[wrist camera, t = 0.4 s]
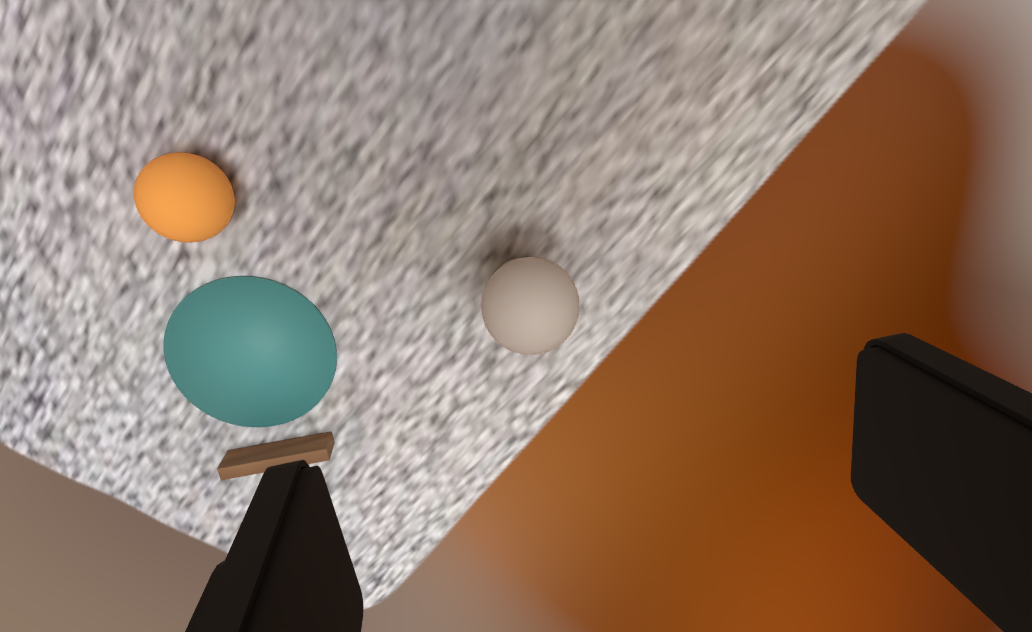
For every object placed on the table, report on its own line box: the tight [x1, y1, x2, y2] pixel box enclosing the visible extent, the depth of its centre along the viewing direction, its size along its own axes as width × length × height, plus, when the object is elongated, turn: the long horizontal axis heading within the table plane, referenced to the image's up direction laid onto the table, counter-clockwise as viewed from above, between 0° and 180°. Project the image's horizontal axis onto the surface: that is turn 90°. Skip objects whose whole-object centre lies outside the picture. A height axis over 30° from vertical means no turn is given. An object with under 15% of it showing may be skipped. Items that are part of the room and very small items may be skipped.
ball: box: [134, 153, 235, 242], centre depth 37 cm, size 6×6×6 cm
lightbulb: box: [481, 257, 579, 355], centre depth 39 cm, size 6×6×11 cm
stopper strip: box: [217, 432, 334, 480], centre depth 46 cm, size 1×8×2 cm, turn 97°
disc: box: [164, 276, 337, 427], centre depth 44 cm, size 12×12×1 cm
